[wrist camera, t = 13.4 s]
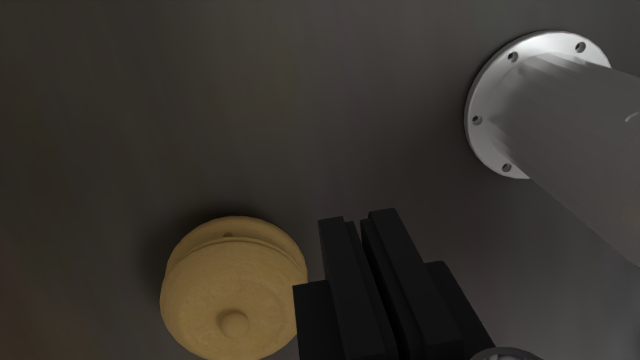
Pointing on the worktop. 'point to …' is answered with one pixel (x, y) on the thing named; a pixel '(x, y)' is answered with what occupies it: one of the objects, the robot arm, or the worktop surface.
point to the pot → (232, 289)
